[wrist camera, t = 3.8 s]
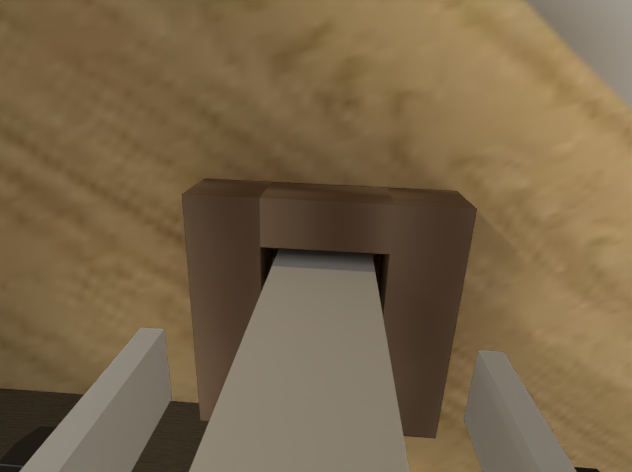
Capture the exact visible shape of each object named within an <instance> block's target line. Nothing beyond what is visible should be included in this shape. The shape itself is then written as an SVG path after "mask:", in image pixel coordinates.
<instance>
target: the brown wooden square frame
mask: <svg viewBox="0 0 632 472" xmlns="http://www.w3.org/2000/svg"><path fill="white" fill-rule="evenodd" d="M182 203H183V215H184V227H185V239H186V251H187V263H188V275H189V287H190V299H191V311H192V323H193V335H194V348H195V360H196V372H197V384H198V396H199V408H200V420H203V421H210V418H211V416H212V413H213V411H214V408H215V406H216V403H217V401H218V398H219V396H220V393H221V391H222V388H223V386H224V383H225V381H226V378H227V376H228V373H229V371H230V368H231V366H232V364H233V361H234V359H235V356H236V354H237V351H238V349H239V346H240V344H241V341H242V339H243V336H244V334H245V331H246V329H247V326H248V324H249V321H250V319H251V316H252V314H253V311H254V309H255V307H256V304H257V302H258V299H259V297H260V294H261V292H262V289H263V287H264V284H265V282H266V279H267V277H268V274H269V272H270V269H271V267H272V248H287V249H304V250H322V251H340V252H358V253H376V254H381V259H380V269H379V279H378V291H379V297H380V302H381V308H382V314H383V320H384V326H385V331H386V337H387V343H388V349H389V355H390V361H391V366H392V372H393V378H394V384H395V390H396V395H397V401H398V407H399V413H400V419H401V424H402V430H403V436H411V437H424V438H436V433H437V427H438V422H439V416H440V411H441V405H442V399H443V394H444V388H445V383H446V377H447V372H448V366H449V361H450V355H451V350H452V344H453V339H454V333H455V328H456V322H457V316H458V311H459V305H460V300H461V294H462V289H463V283H464V278H465V272H466V267H467V261H468V256H469V250H470V245H471V239H472V233H473V228H474V222H475V217H476V211H477V209H476V208H475V207H474V206H473V205H472V204H471V203H470V202H469V201H467V200H466V199H465V198H464V197H463V196H462V195H461V194H460V193H459V192H457V191H446V190H425V189H405V188H384V187H364V186H343V185H322V184H302V183H281V182H261V181H240V180H220V179H204V180H202V181H201V182H199V183H198V184H196V185H195V186H193V187H192V188H190V189H189V190H187V191H186V192H184V193H183V194H182Z"/></svg>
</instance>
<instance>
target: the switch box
mask: <svg viewBox="0 0 632 472" xmlns="http://www.w3.org/2000/svg"><path fill="white" fill-rule="evenodd" d="M83 396H84V395H78V394H65V393H51V392H38V391H25V390H11V389H0V460H1V459H2V458H3V457H4V456H5V454H6V453H7V452H8V451H9V450H10V449H11V448H12V447H13V446H14V445H15V444H16V443H17V442H18V441H19V440H21V439H22V438H24V437H25V436H27V435H28V434H30V433H31V432H32V431H34V430H35V429H37V428H38V427H40V426H45V427H57V426H58V425H59V424H60V423H61V422H62V420H63V419H64V418H65V417H66V416H67V414H68V413H69V412H70V411H71V410H72V409H73V407H74V406H75V405H76V404H77V403H78V401H79V400H80V399H81V398H82V397H83ZM208 423H209V421H203V420H200V408H199V404H198V403H185V402H172V401H170V402H169V404H168V406H167V408H166V410H165V411H164V413H163V415H162V417H161V419H160V420H159V422H158V424H157V426H156V428H155V430H154V431H153V433H152V435H151V437H150V439H149V440H148V442H147V444H146V446H145V448H144V449H143V451H142V453H141V455H140V457H139V458H138V460H137V462H136V464H135V466H134V468H133V469H132V471H131V472H189V470H190V468H191V465H192V463H193V460H194V458H195V455H196V453H197V450H198V448H199V445H200V443H201V440H202V438H203V435H204V433H205V430H206V428H207V425H208Z"/></svg>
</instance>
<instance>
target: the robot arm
mask: <svg viewBox="0 0 632 472" xmlns="http://www.w3.org/2000/svg"><path fill="white" fill-rule="evenodd" d="M171 399H172V394H171V385H170V376H169V367H168V358H167V349H166V340H165V331H164V329H156V328H140V329H139V330H138V332H137V333H136V334H135V335H134V336H133V337H132V339H131V340H130V341H129V342H128V343H127V345H126V346H125V347H124V348H123V349H122V350H121V352H120V353H119V354H118V355H117V356H116V358H115V359H114V360H113V361H112V362H111V364H110V365H109V366H108V367H107V368H106V369H105V371H104V372H103V373H102V374H101V375H100V377H99V378H98V379H97V380H96V381H95V382H94V384H93V385H92V386H91V387H90V388H89V390H88V391H87V392H86V393H85V394H84V396H83V397H82V398H81V399H80V400H79V401H78V403H77V404H76V405H75V406H74V407H73V409H72V410H71V411H70V412H69V413H68V414H67V416H66V417H65V418H64V419H63V420H62V422H61V423H60V424H59V425H58V426H57V427H45V426H40V427H38V428H37V429H35V430H34V431H32V432H31V433H30V434H28V435H27V436H25V437H24V438H22V439H21V440H19V441H18V442H17V443H16V444H15V445H14V446H13V447H12V448H11V449H10V450H9V451H8V452H7V453H6V454H5V456H4V457H3V458H2V459H1V460H0V472H131V471H132V469H133V468H134V466H135V464H136V462H137V460H138V458H139V457H140V455H141V453H142V451H143V449H144V448H145V446H146V444H147V442H148V440H149V439H150V437H151V435H152V433H153V431H154V430H155V428H156V426H157V424H158V422H159V420H160V419H161V417H162V415H163V413H164V411H165V410H166V408H167V406H168V404H169V402H170V401H171ZM464 422H465V424H466V427H467V430H468V433H469V435H470V438H471V441H472V444H473V446H474V449H475V452H476V455H477V457H478V460H479V463H480V466H481V468H482V471H483V472H599V471H598V470H597V469H591V468H579V467H574V466H573V465H572V463H571V461H570V460H569V458H568V456H567V455H566V453H565V452H564V450H563V448H562V447H561V445H560V443H559V442H558V440H557V438H556V437H555V435H554V434H553V432H552V430H551V429H550V427H549V425H548V424H547V422H546V420H545V419H544V417H543V415H542V414H541V412H540V411H539V409H538V407H537V406H536V404H535V402H534V401H533V399H532V397H531V396H530V394H529V393H528V391H527V389H526V388H525V386H524V384H523V383H522V381H521V379H520V378H519V376H518V374H517V373H516V371H515V370H514V368H513V366H512V365H511V363H510V361H509V360H508V358H507V356H506V355H505V353H504V352H501V351H486V350H478V354H477V359H476V363H475V368H474V373H473V378H472V383H471V387H470V392H469V397H468V402H467V407H466V411H465V416H464Z"/></svg>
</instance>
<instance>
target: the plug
mask: <svg viewBox="0 0 632 472" xmlns="http://www.w3.org/2000/svg"><path fill="white" fill-rule="evenodd" d="M189 472H410V471H409V465H408V459H407V454H406V448H405V442H404V436H403V430H402V424H401V419H400V413H399V407H398V401H397V395H396V390H395V384H394V378H393V372H392V366H391V361H390V355H389V349H388V343H387V337H386V331H385V326H384V320H383V314H382V308H381V302H380V297H379V291H378V285H377V279H376V273H375V268H374V262H373V256H372V253H358V252H340V251H322V250H304V249H287V248H279V249H278V252H277V254H276V257H275V259H274V262H273V264H272V267H271V269H270V272H269V274H268V277H267V279H266V282H265V284H264V287H263V289H262V292H261V294H260V297H259V299H258V302H257V304H256V307H255V309H254V311H253V314H252V316H251V319H250V321H249V324H248V326H247V329H246V331H245V334H244V336H243V339H242V341H241V344H240V346H239V349H238V351H237V354H236V356H235V359H234V361H233V364H232V366H231V368H230V371H229V373H228V376H227V378H226V381H225V383H224V386H223V388H222V391H221V393H220V396H219V398H218V401H217V403H216V406H215V408H214V411H213V413H212V416H211V418H210V421H209V423H208V425H207V428H206V430H205V433H204V435H203V438H202V440H201V443H200V445H199V448H198V450H197V453H196V455H195V458H194V460H193V463H192V465H191V468H190V470H189Z"/></svg>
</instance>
